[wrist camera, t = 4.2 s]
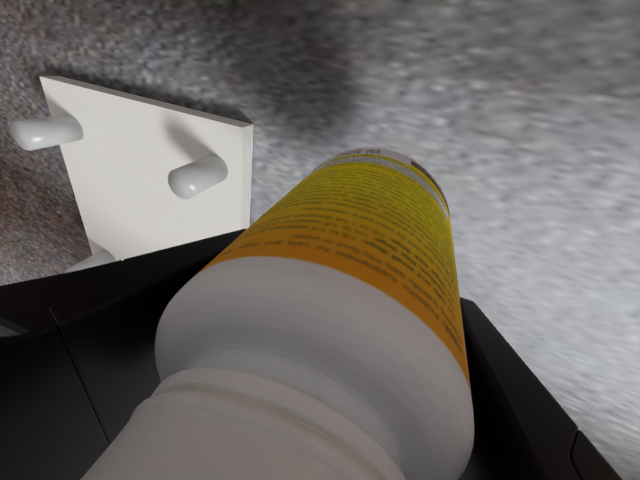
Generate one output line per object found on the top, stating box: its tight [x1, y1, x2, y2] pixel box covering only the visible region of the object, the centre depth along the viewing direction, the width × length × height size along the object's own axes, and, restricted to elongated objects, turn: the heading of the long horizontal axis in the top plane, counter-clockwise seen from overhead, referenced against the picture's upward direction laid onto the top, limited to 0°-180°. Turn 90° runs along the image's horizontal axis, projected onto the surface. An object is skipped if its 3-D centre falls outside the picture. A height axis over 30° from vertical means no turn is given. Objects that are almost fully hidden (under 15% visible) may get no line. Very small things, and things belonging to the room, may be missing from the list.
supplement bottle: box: [80, 148, 474, 480], centre depth 7 cm, size 6×6×10 cm
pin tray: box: [10, 76, 254, 273], centre depth 21 cm, size 16×14×4 cm
